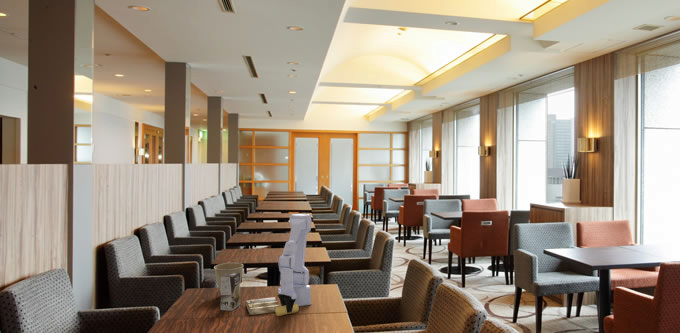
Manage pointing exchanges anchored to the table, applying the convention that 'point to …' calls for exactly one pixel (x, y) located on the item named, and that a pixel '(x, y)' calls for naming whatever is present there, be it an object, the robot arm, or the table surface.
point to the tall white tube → (264, 300)
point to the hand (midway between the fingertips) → (287, 310)
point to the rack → (261, 307)
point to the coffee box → (230, 291)
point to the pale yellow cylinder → (283, 310)
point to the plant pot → (226, 268)
